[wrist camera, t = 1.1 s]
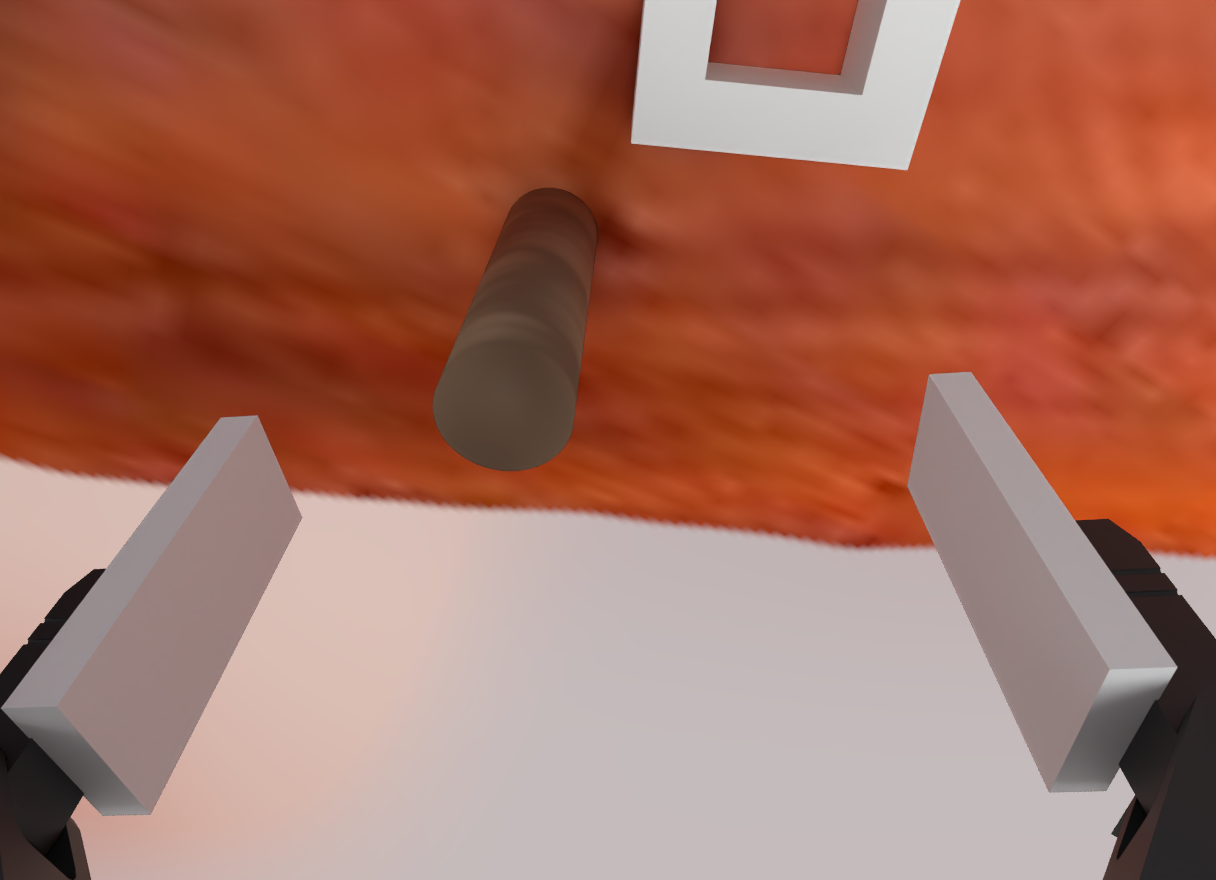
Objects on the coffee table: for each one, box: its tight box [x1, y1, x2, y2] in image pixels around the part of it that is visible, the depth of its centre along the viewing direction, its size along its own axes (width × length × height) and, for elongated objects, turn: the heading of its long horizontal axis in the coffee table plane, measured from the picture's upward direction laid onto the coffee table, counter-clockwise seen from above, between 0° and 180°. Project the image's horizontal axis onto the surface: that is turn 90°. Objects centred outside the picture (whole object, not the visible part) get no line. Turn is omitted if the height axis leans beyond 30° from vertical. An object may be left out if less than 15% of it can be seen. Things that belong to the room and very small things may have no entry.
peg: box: [433, 188, 597, 471], centre depth 27 cm, size 4×4×14 cm
